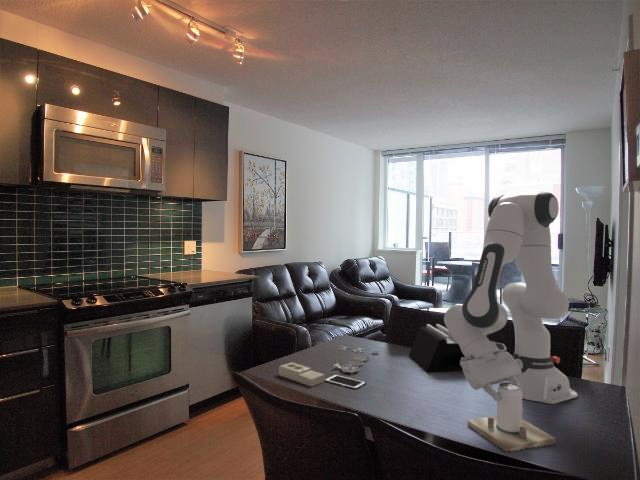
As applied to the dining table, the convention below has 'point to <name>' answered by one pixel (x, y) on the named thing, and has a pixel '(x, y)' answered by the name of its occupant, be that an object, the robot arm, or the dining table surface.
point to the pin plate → (511, 434)
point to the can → (509, 407)
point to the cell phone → (345, 382)
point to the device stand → (436, 350)
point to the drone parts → (354, 363)
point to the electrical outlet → (301, 374)
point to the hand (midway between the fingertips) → (509, 396)
